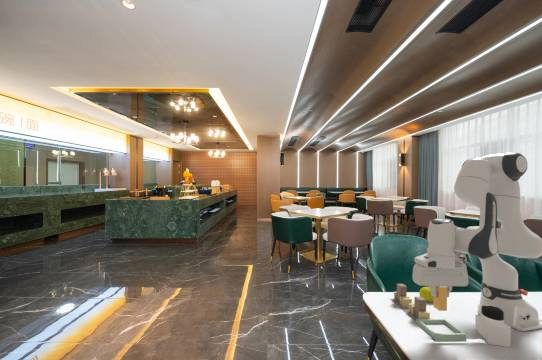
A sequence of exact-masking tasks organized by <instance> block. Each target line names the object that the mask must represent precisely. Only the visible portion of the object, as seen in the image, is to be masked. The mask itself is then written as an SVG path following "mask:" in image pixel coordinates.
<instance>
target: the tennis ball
mask: <svg viewBox="0 0 542 360" xmlns="http://www.w3.org/2000/svg"><path fill="white" fill-rule="evenodd" d="M418 294H419V297H423V298H424V299H425V300H426V303H427V302H428V303H433V296H432V295H431V290H430V288H429V287H428V286H423V287H421V288H420V290H419V293H418Z"/></svg>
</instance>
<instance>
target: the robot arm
mask: <svg viewBox="0 0 542 360" xmlns="http://www.w3.org/2000/svg"><path fill="white" fill-rule="evenodd" d="M527 170H528V160H527V158H526V157H525V156H524V155H523V154H521V152H520V153H519V152H506V153H493V154H488V155H483V156H478V157H473V158H469V159H467V160H465V161H464V162H463V163H462V165H461V168H460V170H459V171H458V174H457V177H456V180H455V183H454V185H453V186H454V187H453V190H454V191H453V192H454V193H455V196H457V197H458V198H459V199H460V200H461V201H463V202H465V203H467V204H469V205H471V206H475V207H477V208H479V223H478V224H479V225H478V226H477V225H475V226H474V225H473V226H468V227H466V228H464V227H459V226H457V225H455V224H454V221H453V220H452V219H450V218H441V217H440V218H432V219H430V221H429V223H428V226H427V227H428V228H427V239H426V240H427V242H428V246H427V249H426V253H423V254H421V255H417V256H415V257H414V259H413V260H414V262H415V264H414V265H413V268H412V282H414V283H415V284H416V285H418V286H419V287H420V286H423V287H429V288H430V290H431V295H432V296H433V297H438V293H437V292H436V291H435V289H434V288H436V286H447V298H450V293H451V291H452V290H453V287H468V285H469V274H468V269H467V267H468V266H467V264H466V263H465V262H464V261H462V260H456V253H455V252H457V253H462V254H466V255H469V256H472V257H476V258H478V259H479V260H480V264H481V269H482V280H481V284H480V287H481V293H480V300H479V304H478V305H477V308H478V309H477V313H478V315H481V314H482V305H492V306H495V307H498V308H499V309H501V310H502V311H503V312H504V323H505V324H507V325H508V326H509V327H510V328H512V329H516V330H518V331H521V332H527V331H533V330H539V329H542V319H540V318H539V312H538V310H537V309H536V307H534V306H533V305H532V304H530V303H529V302H528V301H526V300H525V299H524V298H523V296H527V297H528V295H529V293H528V291H527V290H524V289H523V288H521V289H519V273H518V271H517V269H516V267H514V266H513V265H512V264H510V263H508V262H506V261H505V260H503V259H502V258H501V257H500V255H505V256H509V257H516V258H520V259H538V258H540V257H542V238H541V237H540V236H539V235H538V234H537V233H535V232H533V231H532V230H531V229H530V228H528V226H527V225H526V224H525V222H524V221H523V219H522V214H521V188H520V187H521V186H520V182H519V180H520V179H521V177H523V175H525V173H526V172H527ZM497 222H498V223H500V224H501V225H502V227H501V228H499V227H498V228H497V225H498V224H497ZM499 254H500V255H499ZM522 295H523V296H522Z"/></svg>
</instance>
